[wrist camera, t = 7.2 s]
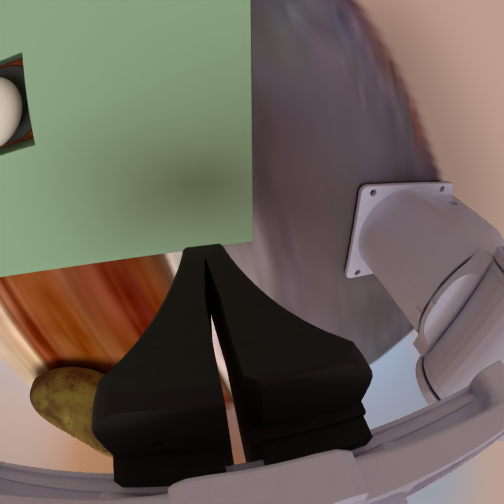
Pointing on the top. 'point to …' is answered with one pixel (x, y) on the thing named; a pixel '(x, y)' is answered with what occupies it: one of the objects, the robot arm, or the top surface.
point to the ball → (9, 109)
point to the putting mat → (125, 130)
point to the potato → (68, 401)
